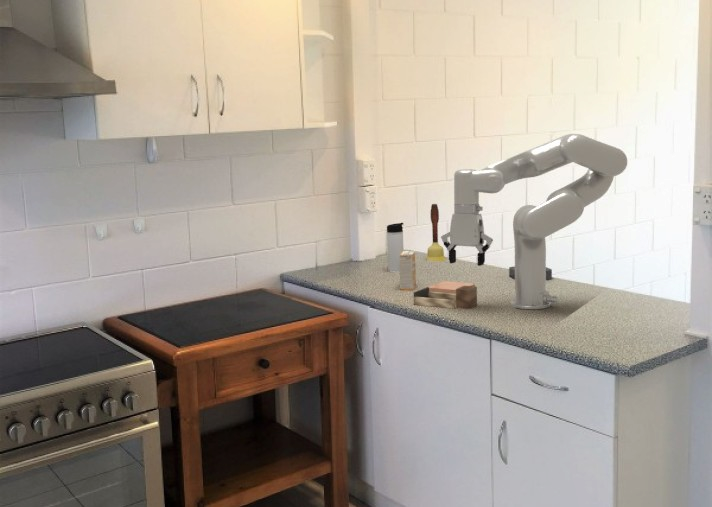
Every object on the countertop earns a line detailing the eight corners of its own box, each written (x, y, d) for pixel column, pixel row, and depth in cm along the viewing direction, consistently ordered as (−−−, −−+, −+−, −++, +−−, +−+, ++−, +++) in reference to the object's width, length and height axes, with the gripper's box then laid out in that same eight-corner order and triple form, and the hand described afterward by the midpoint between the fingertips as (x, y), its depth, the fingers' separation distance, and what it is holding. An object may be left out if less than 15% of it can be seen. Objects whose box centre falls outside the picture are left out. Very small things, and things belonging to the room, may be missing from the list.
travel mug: (405, 275, 310) (403, 223, 307) (388, 275, 310) (386, 224, 307) (404, 272, 316) (403, 221, 313) (388, 272, 317) (386, 222, 314)
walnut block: (477, 305, 255) (476, 286, 254) (469, 309, 250) (469, 290, 249) (464, 303, 257) (463, 285, 256) (456, 307, 252) (455, 289, 251)
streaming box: (554, 282, 286) (554, 270, 285) (520, 285, 283) (520, 272, 282) (539, 276, 298) (539, 264, 297) (507, 279, 296) (506, 267, 295)
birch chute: (467, 302, 258) (467, 290, 258) (454, 308, 251) (454, 296, 250) (427, 298, 266) (427, 287, 266) (413, 304, 259) (413, 292, 258)
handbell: (438, 260, 340) (436, 201, 336) (457, 264, 330) (455, 203, 326) (415, 264, 334) (413, 204, 330) (433, 268, 323) (431, 206, 319)
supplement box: (413, 291, 280) (412, 254, 278) (400, 291, 281) (398, 254, 279) (416, 286, 288) (415, 250, 286) (403, 286, 289) (402, 250, 287)
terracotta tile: (474, 289, 278) (474, 283, 278) (459, 296, 269) (459, 290, 268) (444, 286, 285) (444, 281, 285) (427, 293, 275) (427, 287, 275)
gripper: (497, 209, 246) (497, 264, 249) (447, 207, 256) (447, 260, 259) (486, 211, 240) (486, 268, 243) (436, 209, 250) (436, 263, 253)
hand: (466, 263), depth 251 cm, fingers open, 9 cm apart
